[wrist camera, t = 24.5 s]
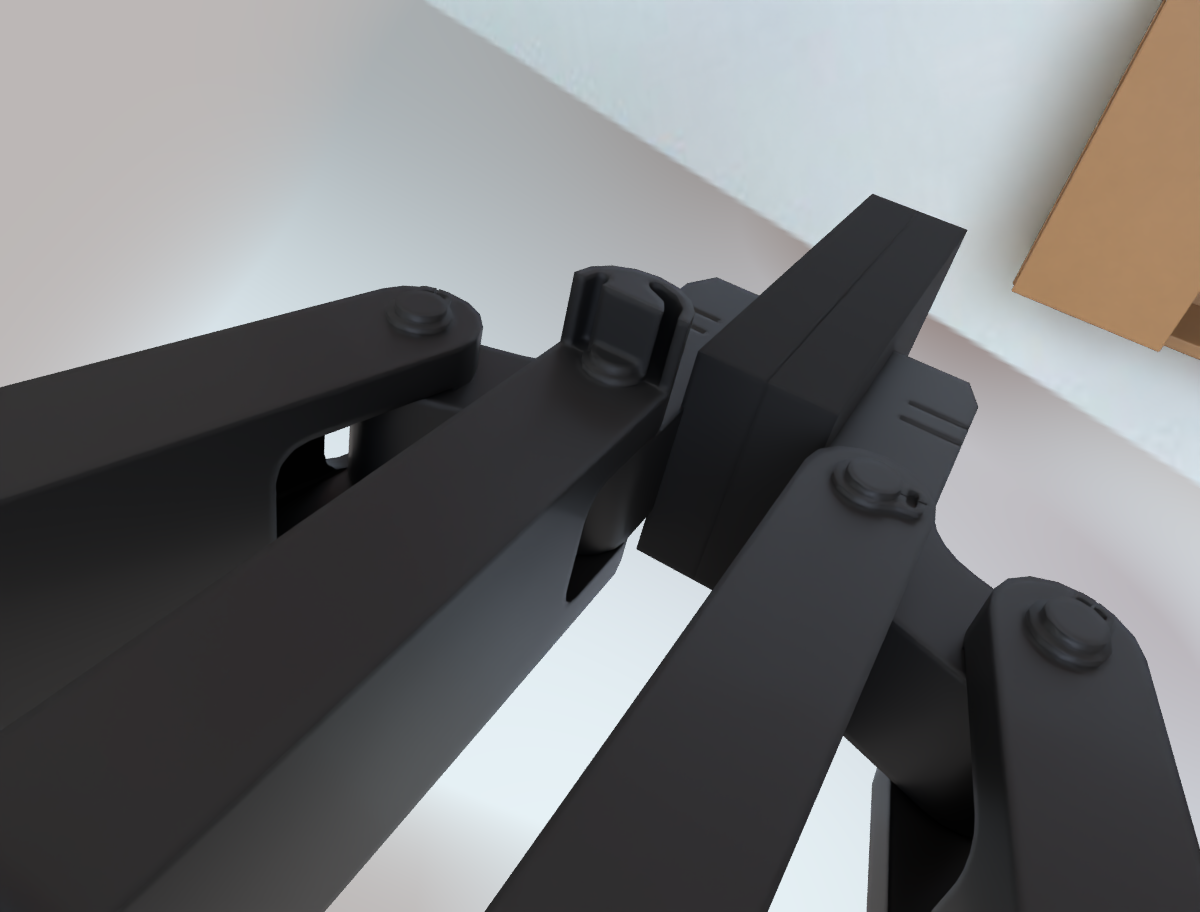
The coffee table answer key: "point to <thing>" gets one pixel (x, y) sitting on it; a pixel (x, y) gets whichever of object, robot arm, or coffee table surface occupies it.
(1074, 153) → the coffee table surface
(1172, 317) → the flap
